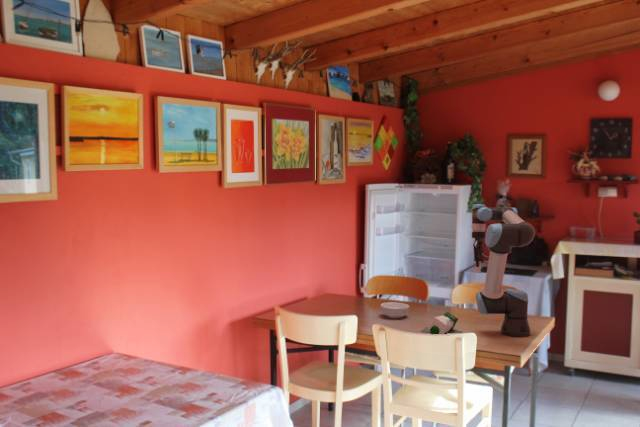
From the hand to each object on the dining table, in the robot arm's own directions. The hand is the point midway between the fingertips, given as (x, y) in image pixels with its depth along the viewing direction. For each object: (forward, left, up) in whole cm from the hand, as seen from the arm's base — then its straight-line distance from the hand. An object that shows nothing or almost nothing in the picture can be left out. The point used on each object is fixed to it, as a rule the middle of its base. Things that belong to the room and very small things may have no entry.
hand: (477, 272), depth 362 cm
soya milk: (+9, +25, -23) cm, 35 cm away
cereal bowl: (+45, +13, -28) cm, 55 cm away
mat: (+11, +33, -28) cm, 45 cm away
